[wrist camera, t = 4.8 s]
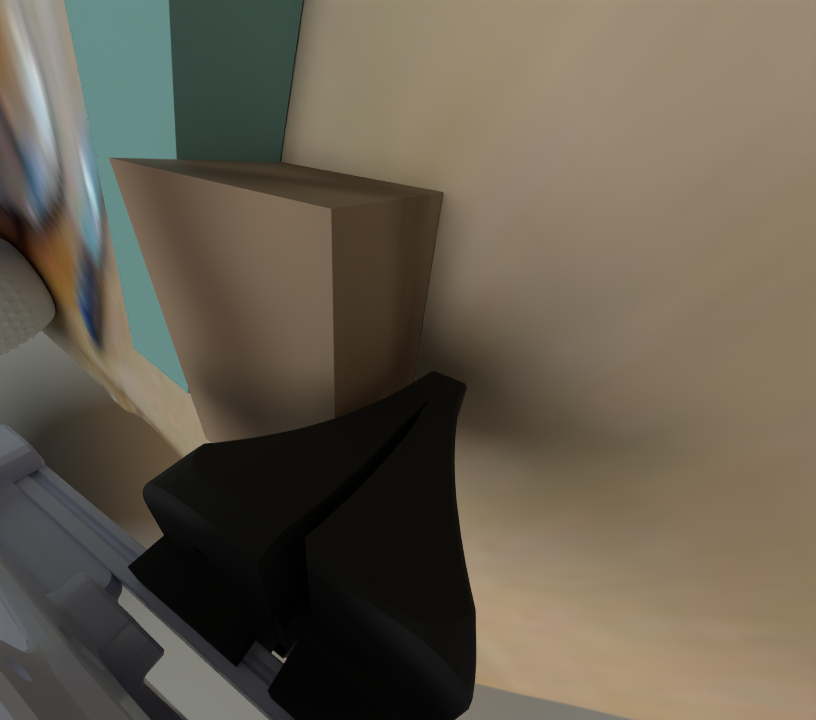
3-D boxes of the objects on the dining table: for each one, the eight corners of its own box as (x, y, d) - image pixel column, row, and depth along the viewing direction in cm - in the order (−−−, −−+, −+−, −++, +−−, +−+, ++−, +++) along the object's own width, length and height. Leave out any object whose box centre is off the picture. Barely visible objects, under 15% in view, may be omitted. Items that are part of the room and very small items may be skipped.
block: (443, 192, 9) (331, 208, 5) (406, 421, 14) (336, 516, 10) (280, 161, 11) (108, 157, 7) (299, 373, 16) (206, 438, 12)
